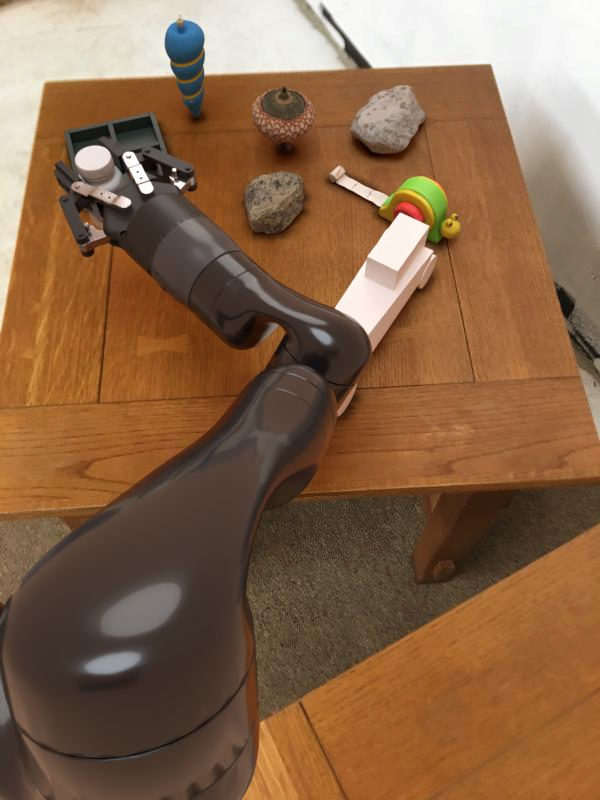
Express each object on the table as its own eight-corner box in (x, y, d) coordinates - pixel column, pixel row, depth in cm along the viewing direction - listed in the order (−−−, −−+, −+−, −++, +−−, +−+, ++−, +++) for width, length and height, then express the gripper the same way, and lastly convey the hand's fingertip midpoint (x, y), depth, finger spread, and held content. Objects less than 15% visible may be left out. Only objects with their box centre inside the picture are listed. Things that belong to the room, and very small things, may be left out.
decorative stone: (428, 162, 89) (436, 132, 85) (350, 162, 89) (353, 132, 84) (421, 102, 95) (427, 71, 90) (347, 102, 95) (350, 70, 90)
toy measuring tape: (440, 262, 81) (451, 225, 75) (318, 189, 87) (320, 149, 81) (467, 231, 83) (480, 193, 77) (347, 162, 89) (350, 122, 83)
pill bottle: (128, 196, 70) (109, 136, 63) (138, 224, 68) (120, 166, 61) (88, 206, 69) (65, 147, 62) (96, 236, 67) (74, 178, 60)
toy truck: (386, 249, 82) (396, 195, 74) (436, 273, 80) (452, 221, 72) (278, 397, 72) (276, 353, 64) (333, 427, 70) (338, 387, 62)
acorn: (242, 148, 90) (236, 83, 81) (286, 120, 93) (285, 55, 84) (281, 180, 87) (280, 117, 78) (326, 151, 90) (329, 87, 81)
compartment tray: (83, 208, 85) (78, 195, 83) (68, 144, 90) (63, 130, 88) (177, 186, 86) (174, 173, 84) (156, 125, 92) (153, 111, 90)
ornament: (219, 109, 94) (207, 5, 80) (207, 133, 91) (192, 30, 78) (185, 102, 94) (167, -2, 81) (173, 126, 92) (152, 23, 79)
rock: (307, 233, 83) (308, 207, 79) (246, 236, 83) (244, 210, 79) (303, 192, 86) (304, 165, 82) (244, 194, 86) (242, 168, 82)
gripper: (245, 184, 57) (130, 90, 63) (112, 270, 53) (2, 161, 59) (250, 242, 64) (146, 152, 70) (133, 323, 59) (32, 220, 65)
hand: (81, 157), depth 64 cm, fingers closed on pill bottle, 4 cm apart
